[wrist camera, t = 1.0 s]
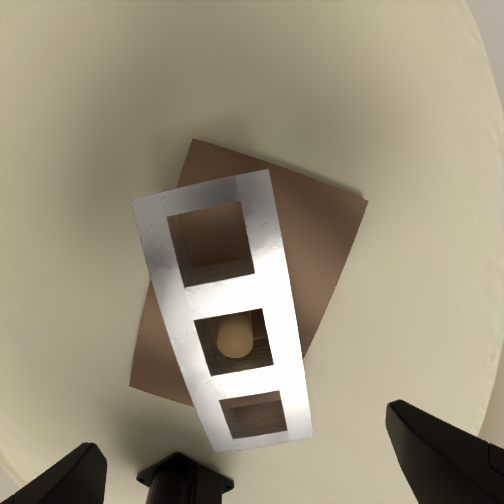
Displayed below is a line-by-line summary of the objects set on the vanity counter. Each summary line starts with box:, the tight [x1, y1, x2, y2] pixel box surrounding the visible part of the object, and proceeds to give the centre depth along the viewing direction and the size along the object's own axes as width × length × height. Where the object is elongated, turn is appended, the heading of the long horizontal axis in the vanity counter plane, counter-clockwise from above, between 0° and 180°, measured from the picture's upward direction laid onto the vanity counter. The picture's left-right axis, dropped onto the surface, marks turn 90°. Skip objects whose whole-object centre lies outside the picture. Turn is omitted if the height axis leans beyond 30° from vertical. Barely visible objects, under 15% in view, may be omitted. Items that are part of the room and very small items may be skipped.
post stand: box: [129, 139, 368, 408], centre depth 16 cm, size 16×10×5 cm, turn 161°
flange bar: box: [131, 169, 313, 453], centre depth 15 cm, size 14×6×3 cm, turn 11°
